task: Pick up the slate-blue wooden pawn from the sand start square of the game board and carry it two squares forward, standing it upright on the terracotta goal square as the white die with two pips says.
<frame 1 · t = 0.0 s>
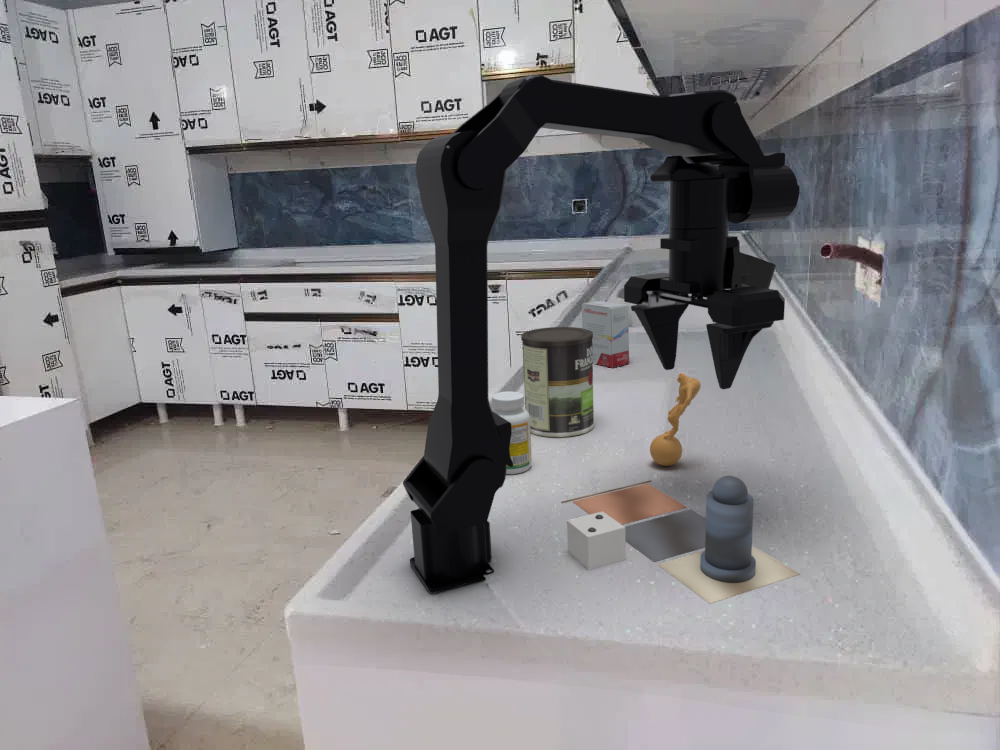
hand: (695, 378, 78), 15 cm above the counter, tool pointing down, fingers open, 9 cm apart
pawn: (727, 569, 68), point 1 cm above the counter, touching game board
coffee can: (559, 427, 111), on the counter
figurine: (674, 466, 94), on the counter
ink box: (605, 363, 146), on the counter
game board: (673, 539, 75), on the counter
supplement bottle: (511, 468, 96), on the counter
white die: (596, 561, 72), on the counter
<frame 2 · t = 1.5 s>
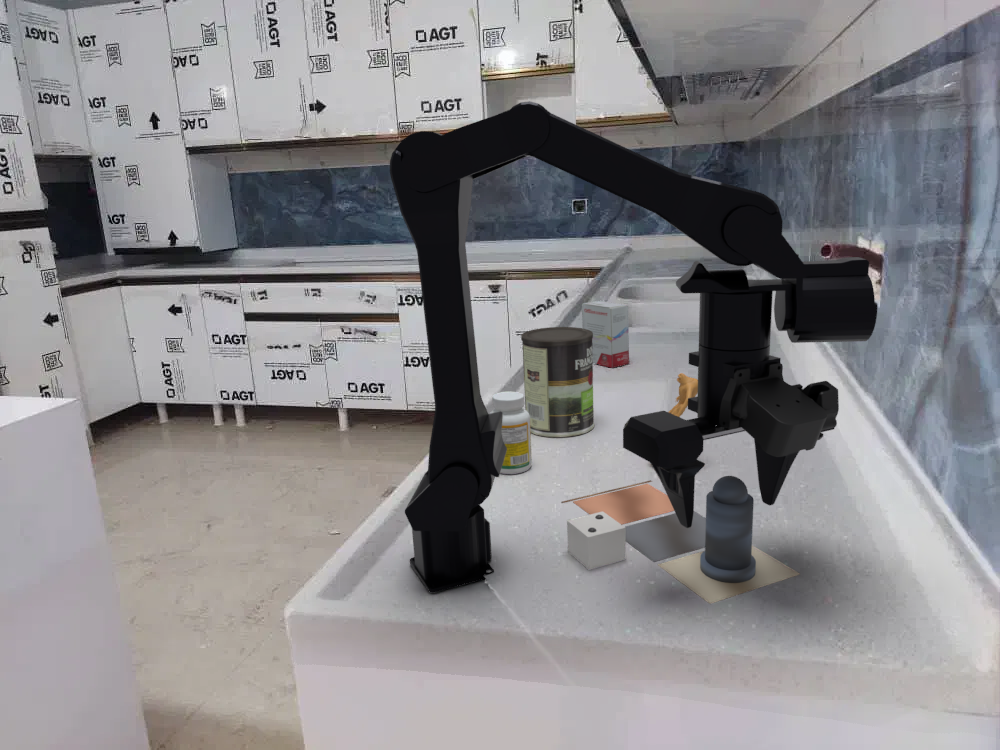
hand: (727, 514, 66), 6 cm above the counter, tool pointing down, fingers open, 9 cm apart
nothing on the counter moved.
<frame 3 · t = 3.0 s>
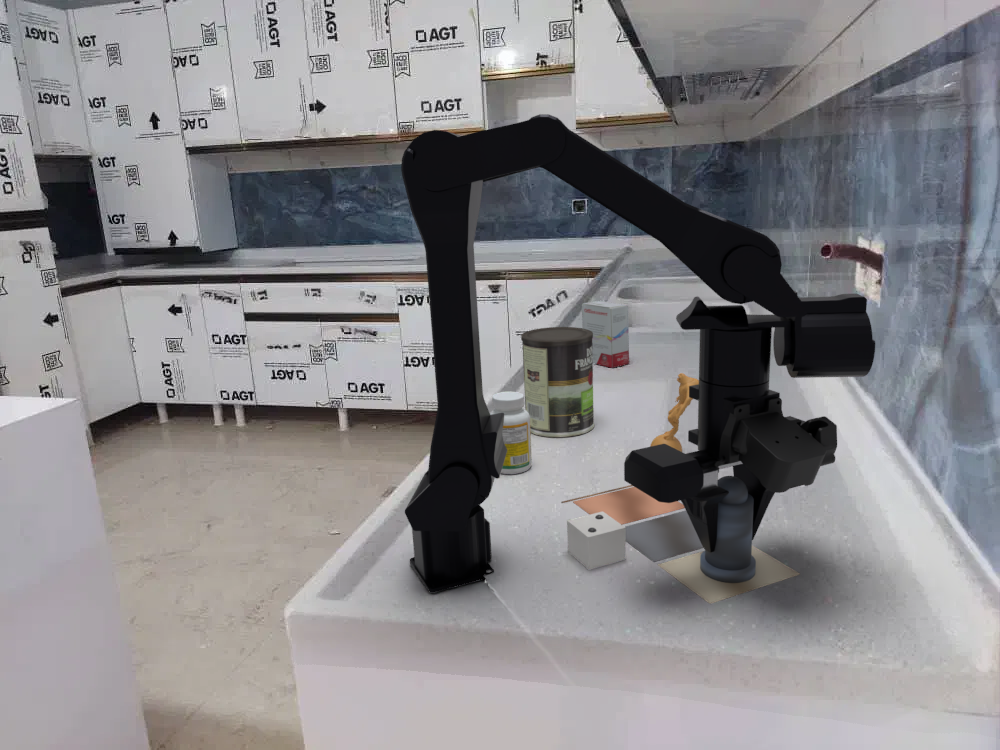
hand: (728, 545, 67), 3 cm above the counter, tool pointing down, fingers closed on pawn, 4 cm apart
pawn: (727, 569, 68), point 1 cm above the counter, touching game board, gripper
everything else where it was.
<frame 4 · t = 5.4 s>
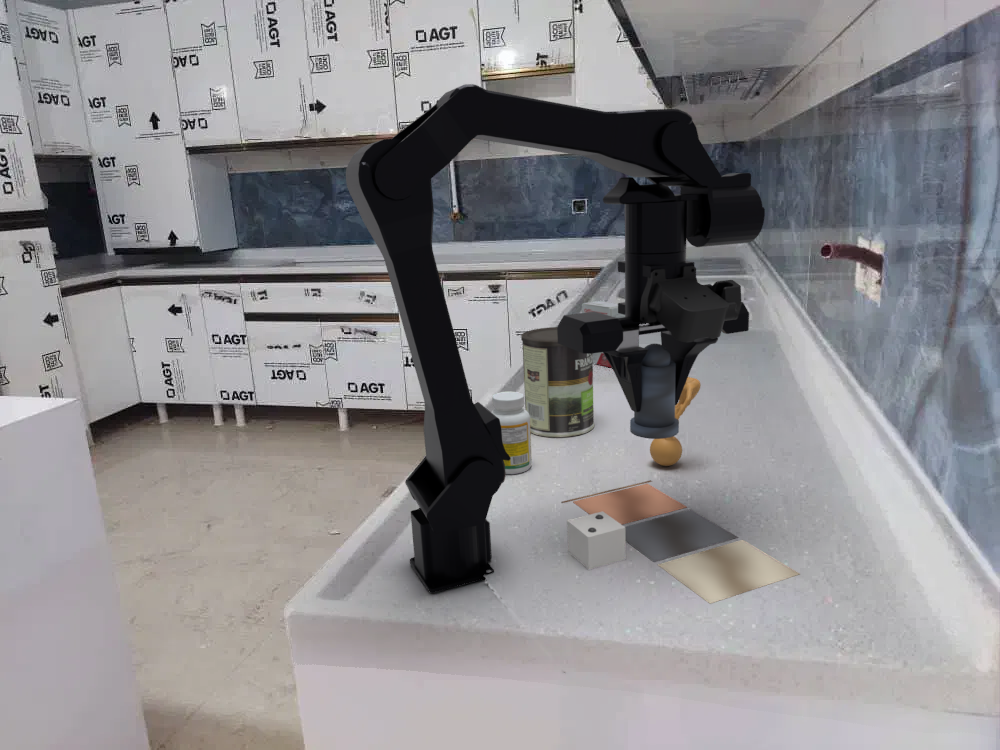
hand: (654, 407, 75), 13 cm above the counter, tool pointing down, fingers closed on pawn, 4 cm apart
pawn: (654, 430, 75), point 11 cm above the counter, touching gripper
everything else where it was.
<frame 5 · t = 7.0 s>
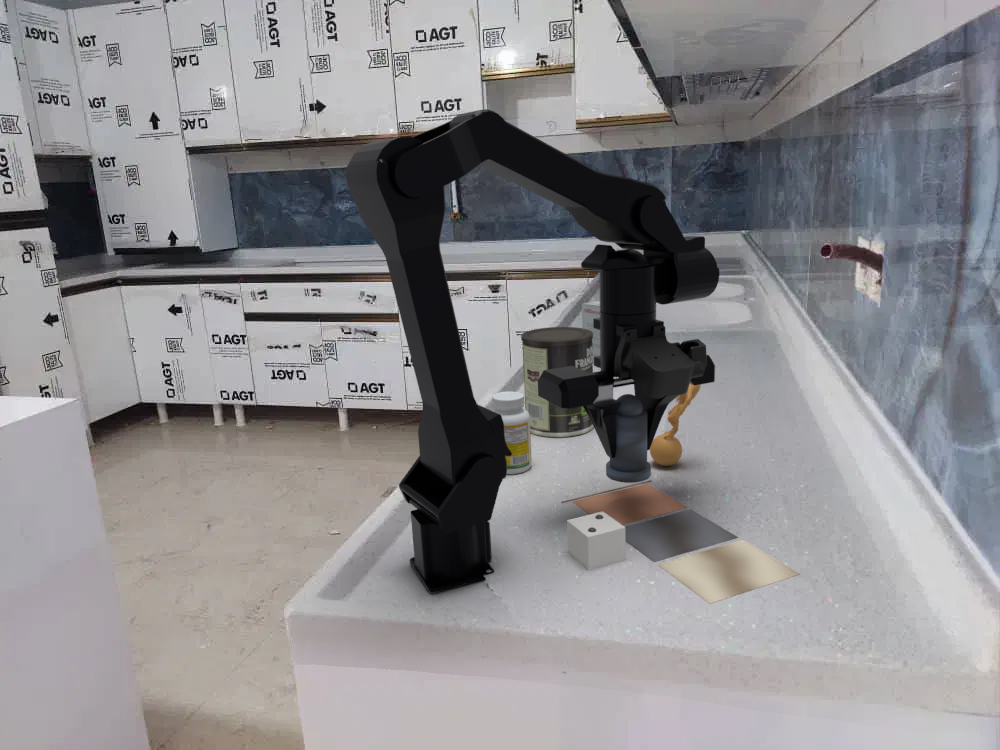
hand: (628, 453, 80), 7 cm above the counter, tool pointing down, fingers closed on pawn, 4 cm apart
pawn: (628, 474, 81), point 4 cm above the counter, touching gripper
everything else where it was.
when the fingers open (4 cm above the counter, at t = 8.2 s): pawn stays where it is, resting on game board.
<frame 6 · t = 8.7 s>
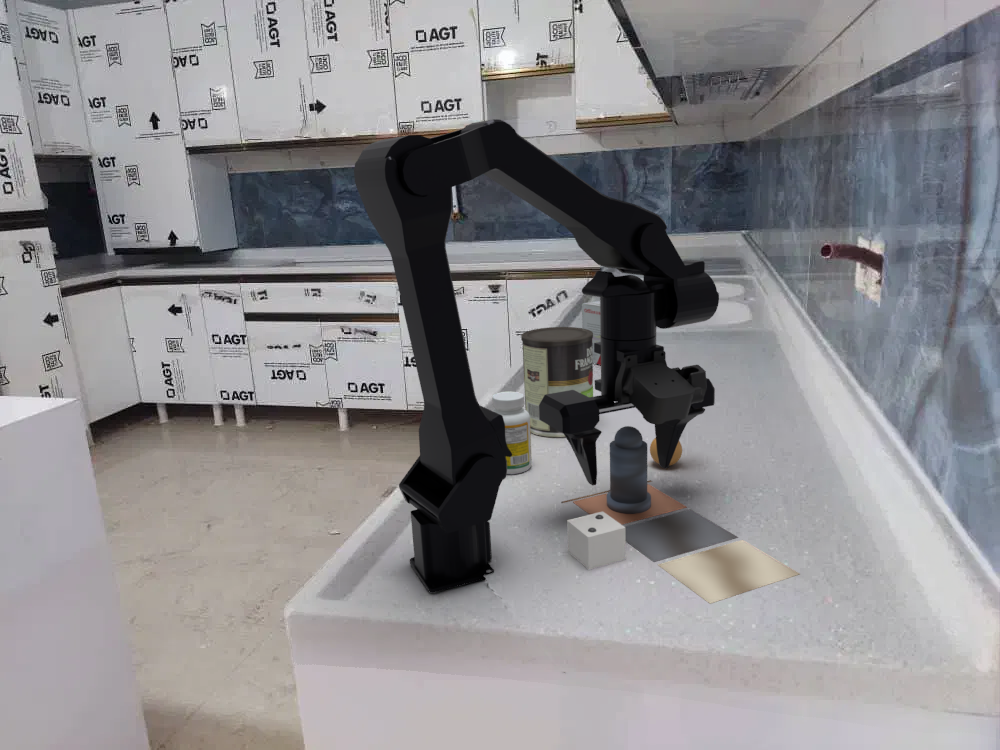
hand: (628, 475, 81), 4 cm above the counter, tool pointing down, fingers open, 9 cm apart
pawn: (628, 504, 82), point 1 cm above the counter, touching game board
everything else where it was.
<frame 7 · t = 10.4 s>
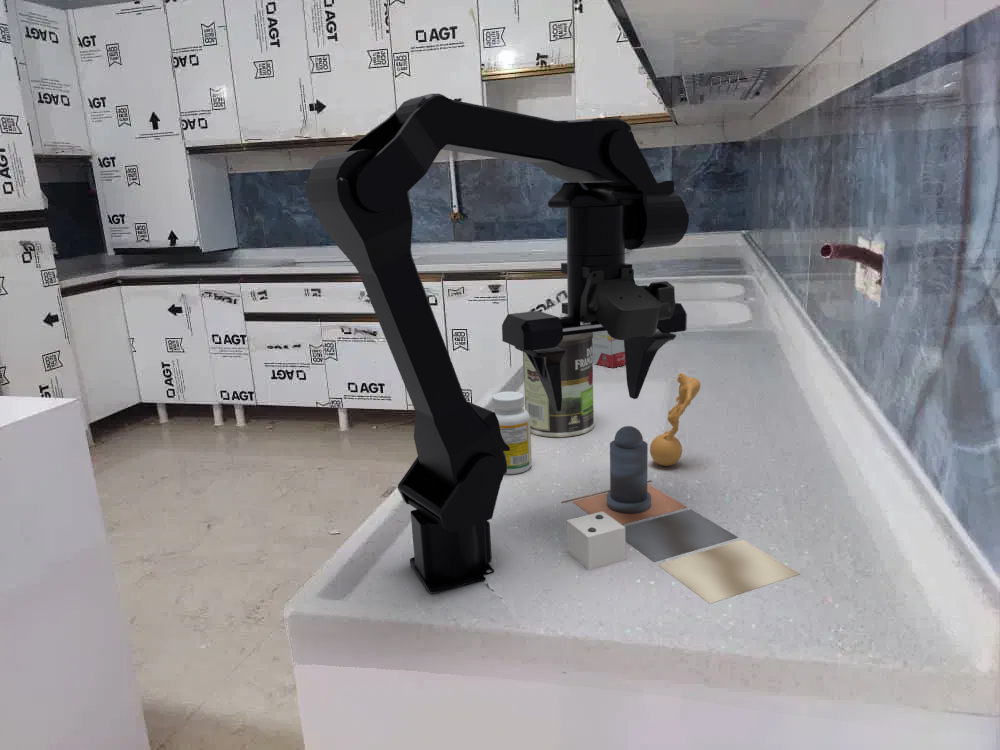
hand: (596, 404, 78), 13 cm above the counter, tool pointing down, fingers open, 9 cm apart
nothing on the counter moved.
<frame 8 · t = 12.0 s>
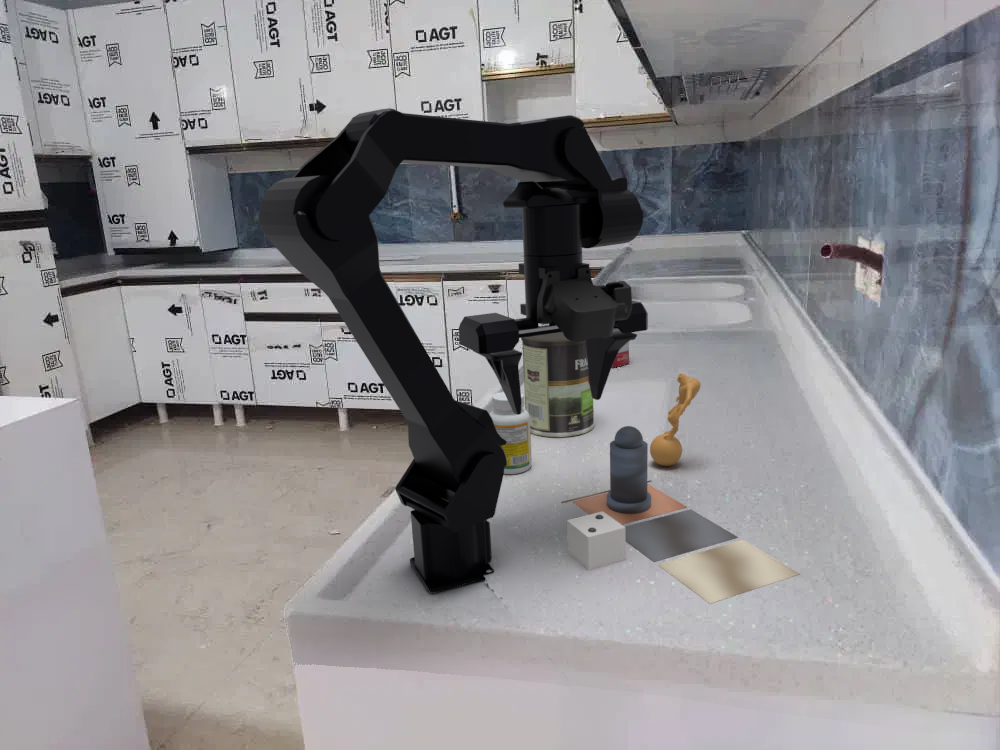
hand: (557, 406, 77), 13 cm above the counter, tool pointing down, fingers open, 9 cm apart
nothing on the counter moved.
at the end: pawn 0.0 cm from the target spot, point 0.6 cm above the counter; pawn tilted 0°; the gripper is holding nothing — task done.
